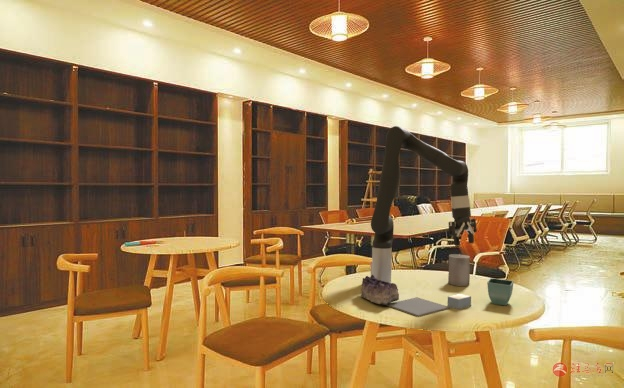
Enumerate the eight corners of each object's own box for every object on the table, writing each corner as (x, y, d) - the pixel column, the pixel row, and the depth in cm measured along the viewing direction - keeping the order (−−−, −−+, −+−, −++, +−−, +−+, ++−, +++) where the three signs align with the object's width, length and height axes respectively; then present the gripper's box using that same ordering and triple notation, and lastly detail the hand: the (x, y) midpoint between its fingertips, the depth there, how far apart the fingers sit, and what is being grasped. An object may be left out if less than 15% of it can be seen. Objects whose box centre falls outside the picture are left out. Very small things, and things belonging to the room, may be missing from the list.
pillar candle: (453, 280, 201) (454, 250, 201) (473, 284, 194) (473, 253, 194) (444, 283, 194) (445, 252, 194) (464, 287, 187) (464, 255, 187)
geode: (350, 296, 170) (352, 272, 171) (372, 297, 176) (374, 273, 177) (379, 306, 152) (381, 279, 153) (403, 306, 158) (404, 280, 159)
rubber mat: (386, 305, 158) (386, 304, 158) (417, 298, 168) (417, 297, 168) (418, 316, 145) (418, 315, 145) (449, 308, 155) (449, 306, 155)
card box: (447, 306, 158) (447, 296, 158) (459, 303, 163) (460, 293, 163) (458, 309, 154) (458, 299, 154) (470, 306, 159) (471, 296, 158)
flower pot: (511, 308, 156) (511, 285, 156) (486, 304, 161) (487, 282, 161) (513, 302, 164) (513, 280, 163) (489, 299, 168) (490, 277, 168)
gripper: (465, 205, 180) (468, 241, 179) (442, 208, 173) (445, 245, 173) (479, 205, 173) (482, 242, 173) (455, 207, 166) (459, 246, 166)
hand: (464, 244), depth 173 cm, fingers open, 8 cm apart
